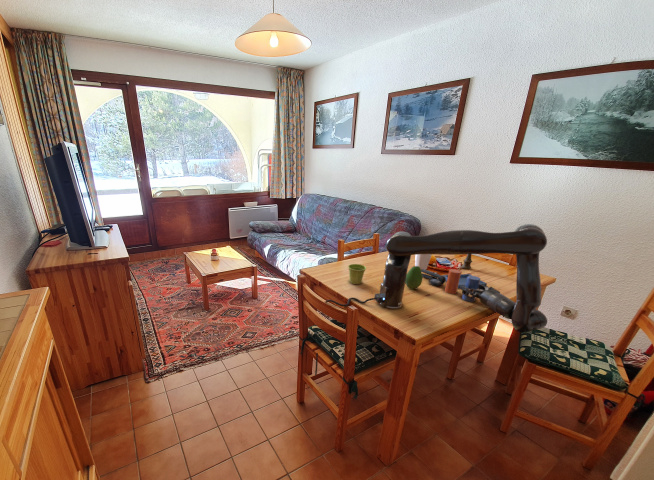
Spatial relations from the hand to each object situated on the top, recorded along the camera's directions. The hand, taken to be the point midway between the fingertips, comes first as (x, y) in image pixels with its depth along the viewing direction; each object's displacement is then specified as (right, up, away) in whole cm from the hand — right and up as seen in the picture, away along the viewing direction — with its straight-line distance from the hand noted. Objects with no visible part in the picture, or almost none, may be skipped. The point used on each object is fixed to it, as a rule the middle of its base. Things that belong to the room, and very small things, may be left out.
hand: (469, 286), depth 145 cm
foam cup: (-5, +10, +40) cm, 41 cm away
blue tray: (+9, +2, +20) cm, 22 cm away
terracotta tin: (-4, -3, +9) cm, 10 cm away
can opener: (-7, +2, +22) cm, 23 cm away
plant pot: (-48, +2, +20) cm, 53 cm away
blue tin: (0, -6, +1) cm, 6 cm away
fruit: (-21, -2, +13) cm, 25 cm away
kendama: (+23, +10, +40) cm, 47 cm away
